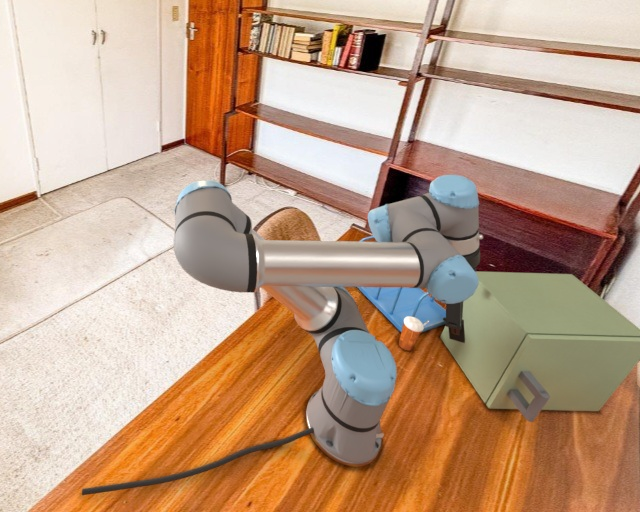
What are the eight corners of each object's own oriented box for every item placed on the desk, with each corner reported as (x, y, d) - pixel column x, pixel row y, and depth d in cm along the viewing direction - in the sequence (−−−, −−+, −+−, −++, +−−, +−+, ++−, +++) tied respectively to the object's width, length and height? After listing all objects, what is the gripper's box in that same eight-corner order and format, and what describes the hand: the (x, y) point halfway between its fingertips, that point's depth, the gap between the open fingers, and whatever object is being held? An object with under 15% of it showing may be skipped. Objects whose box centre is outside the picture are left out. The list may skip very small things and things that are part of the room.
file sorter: (344, 275, 128) (354, 237, 121) (385, 264, 134) (397, 227, 127) (406, 338, 107) (423, 296, 100) (452, 322, 112) (471, 281, 106)
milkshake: (420, 355, 102) (432, 328, 98) (398, 351, 103) (409, 324, 99) (414, 340, 106) (425, 313, 102) (393, 336, 107) (403, 310, 103)
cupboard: (593, 406, 92) (648, 336, 82) (484, 403, 92) (526, 332, 81) (532, 339, 108) (571, 274, 98) (439, 337, 108) (470, 271, 98)
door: (624, 439, 85) (687, 368, 75) (507, 436, 85) (555, 365, 75) (594, 407, 92) (649, 337, 81) (485, 404, 91) (527, 334, 81)
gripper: (471, 295, 70) (475, 369, 79) (486, 209, 86) (488, 278, 94) (423, 284, 75) (431, 355, 84) (445, 204, 91) (451, 271, 99)
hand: (461, 314), depth 89 cm, fingers open, 13 cm apart
